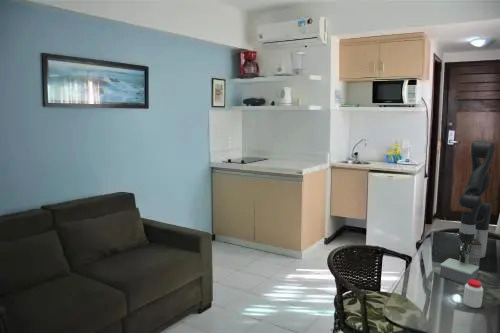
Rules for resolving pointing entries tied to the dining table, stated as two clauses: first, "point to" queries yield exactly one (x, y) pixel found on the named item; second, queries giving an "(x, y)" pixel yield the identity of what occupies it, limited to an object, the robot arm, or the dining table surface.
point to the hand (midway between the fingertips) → (463, 261)
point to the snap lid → (460, 265)
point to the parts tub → (457, 275)
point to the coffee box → (475, 253)
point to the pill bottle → (473, 294)
